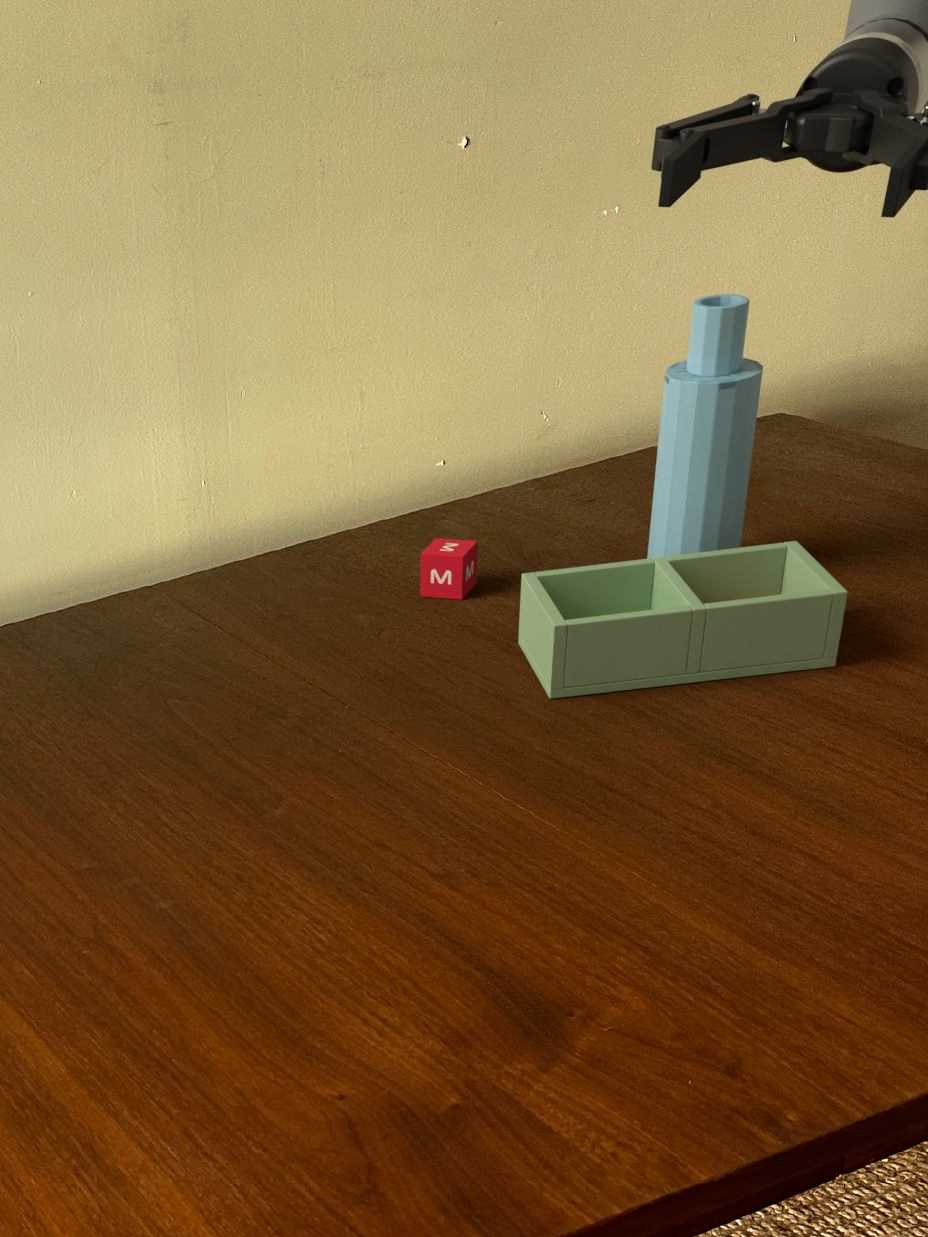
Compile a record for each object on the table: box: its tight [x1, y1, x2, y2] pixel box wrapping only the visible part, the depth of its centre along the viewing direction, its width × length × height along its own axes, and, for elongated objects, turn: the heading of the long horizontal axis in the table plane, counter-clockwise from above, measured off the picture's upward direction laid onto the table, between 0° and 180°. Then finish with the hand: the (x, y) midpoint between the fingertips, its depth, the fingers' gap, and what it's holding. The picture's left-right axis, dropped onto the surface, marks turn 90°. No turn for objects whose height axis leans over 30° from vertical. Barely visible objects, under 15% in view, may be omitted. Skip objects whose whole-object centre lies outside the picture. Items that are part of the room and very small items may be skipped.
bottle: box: [646, 293, 764, 559], centre depth 114 cm, size 6×6×17 cm
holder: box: [517, 540, 848, 700], centre depth 108 cm, size 17×9×5 cm, turn 90°
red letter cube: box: [419, 538, 479, 600], centre depth 121 cm, size 3×3×3 cm
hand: (776, 188), depth 109 cm, fingers open, 13 cm apart
